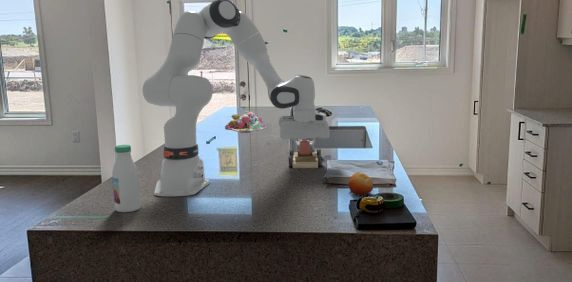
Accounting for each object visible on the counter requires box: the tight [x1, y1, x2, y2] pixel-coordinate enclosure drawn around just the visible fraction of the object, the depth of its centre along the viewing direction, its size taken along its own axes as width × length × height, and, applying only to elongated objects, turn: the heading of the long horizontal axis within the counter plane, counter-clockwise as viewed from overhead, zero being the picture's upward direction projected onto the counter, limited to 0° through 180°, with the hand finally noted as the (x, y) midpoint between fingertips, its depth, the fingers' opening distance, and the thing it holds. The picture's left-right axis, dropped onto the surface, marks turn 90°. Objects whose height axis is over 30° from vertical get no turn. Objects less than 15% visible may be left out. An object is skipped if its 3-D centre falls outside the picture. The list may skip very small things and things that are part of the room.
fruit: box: [348, 172, 374, 197], centre depth 168 cm, size 8×8×8 cm
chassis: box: [288, 140, 323, 169], centre depth 212 cm, size 20×13×7 cm, turn 178°
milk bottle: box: [111, 144, 142, 213], centre depth 157 cm, size 8×8×20 cm
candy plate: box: [224, 110, 267, 133], centre depth 298 cm, size 25×24×9 cm
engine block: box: [299, 139, 311, 155], centre depth 209 cm, size 5×4×6 cm
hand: (304, 149), depth 209 cm, fingers closed on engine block, 4 cm apart
